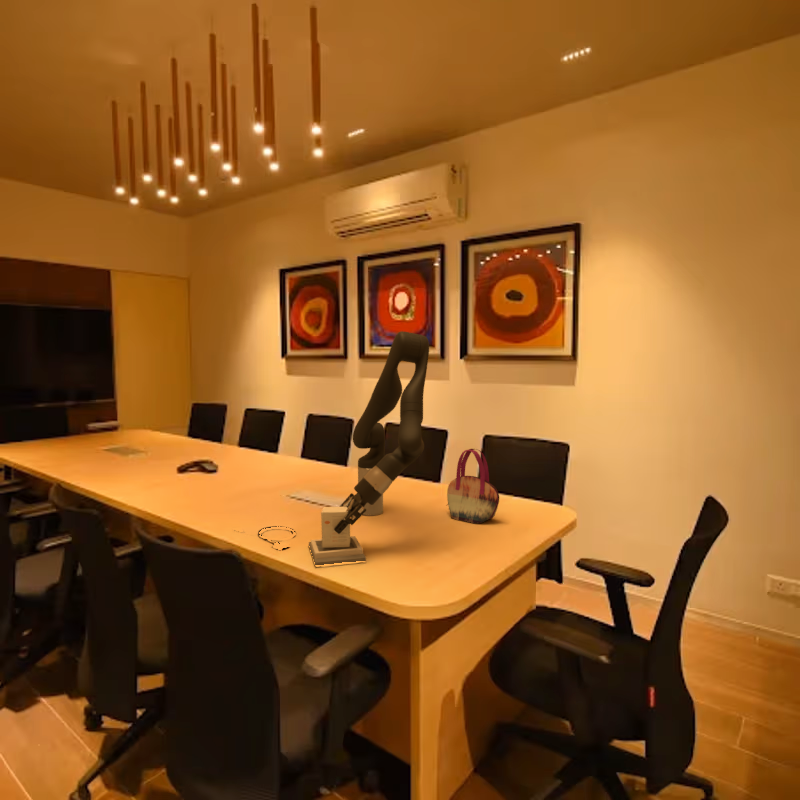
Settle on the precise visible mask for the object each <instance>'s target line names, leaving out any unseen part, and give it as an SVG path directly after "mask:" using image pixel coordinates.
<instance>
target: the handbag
mask: <svg viewBox="0 0 800 800" xmlns="http://www.w3.org/2000/svg"><path fill="white" fill-rule="evenodd" d="M471 453H472V454H473V455H474V457H475V460H476V462H477V465H478V469H479V476H480V477H477V476H474V475H466V465H467V462H468V459H469V458H470V455H471ZM479 453H480V454H479ZM480 455H481V456H480ZM456 465H457V466H456V476H455V478H454V479H452V480H451V481H450V482H449V484H448V486H447V494H446V498H447V504H446V505H445V506H448V511H449V514H450V516H451V518H452V519H454V520H458V521H461V520H462V521H463V522H466V521H467V523H470V522H471V524H475V523H477V524H481V523H484V522H486V521H488V520H491V519H493V518H494V517H495V516H496V513H497V511H498V507H499V503H500V494H499V491H498V490H497V488H496V486H494V485H493V484H492V483H490V473H489V466H488V462H487V458H486V456H485V455H484V453H483V452H482V451H481V450H479V449H477V448H476V449H475V448H469V449H465V450H464V451H462V453H461V455H460V456H459V458H458V462H457V464H456Z"/></svg>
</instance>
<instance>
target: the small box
mask: <svg viewBox="0 0 800 800" xmlns="http://www.w3.org/2000/svg"><path fill="white" fill-rule="evenodd" d="M347 509H348V508H347V507H339V506H323V507H322V509H321V512H320V515H321V516H320V518H321V521H320V523H321V524H320V525H321V539H322V548H332V547H349V546H350V536H351V524H350V525H347V527H346V528H345V529H344V530H343V531H342V532H341V533H340V534H338V533H337V532H336V531H335V530H334V528H335V526H336V525H337V524H338V523H339V522H340V521H341V520H342V519H343V518H344V516H345V515H346V514H347V512H346V510H347Z"/></svg>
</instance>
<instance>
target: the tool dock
mask: <svg viewBox="0 0 800 800" xmlns="http://www.w3.org/2000/svg"><path fill="white" fill-rule="evenodd" d="M309 546H310V549H309V551H310V550H311V552H310V554H311V553H312V555H311V557H312V556H313V559H314V562H315V565H324V564H334V563H342V562H356V561H366V562H367V557H366V555H365V553H364V549H363V547H362V546H361V544H360V542H359V540H358V539H357V537H356V535H350V546H349V547H332V548H322V538H319V539H310V541H309V542H308V547H309ZM313 559H312V560H313ZM314 562H313V563H314ZM315 565H314V566H315Z"/></svg>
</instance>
